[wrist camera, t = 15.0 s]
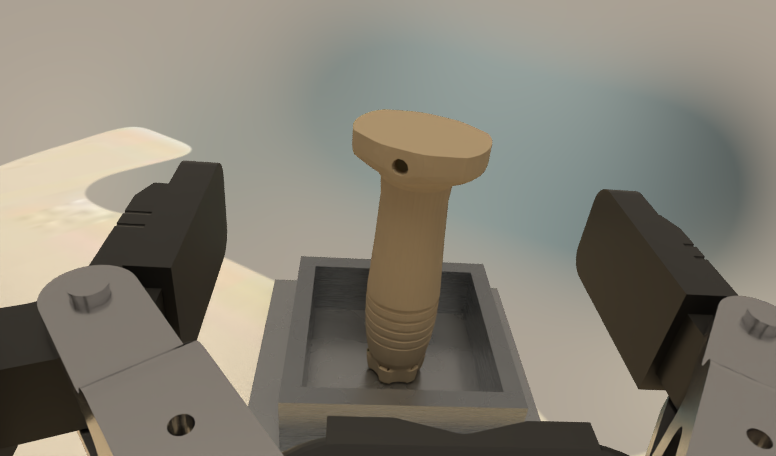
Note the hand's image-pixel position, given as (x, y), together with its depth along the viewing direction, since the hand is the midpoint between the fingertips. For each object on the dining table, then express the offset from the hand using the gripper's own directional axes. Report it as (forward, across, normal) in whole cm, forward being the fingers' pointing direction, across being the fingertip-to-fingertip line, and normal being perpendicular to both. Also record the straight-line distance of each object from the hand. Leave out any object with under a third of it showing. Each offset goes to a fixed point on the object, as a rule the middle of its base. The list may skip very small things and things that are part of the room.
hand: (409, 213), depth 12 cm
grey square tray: (+13, -2, +20) cm, 24 cm away
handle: (+13, -2, +19) cm, 23 cm away
